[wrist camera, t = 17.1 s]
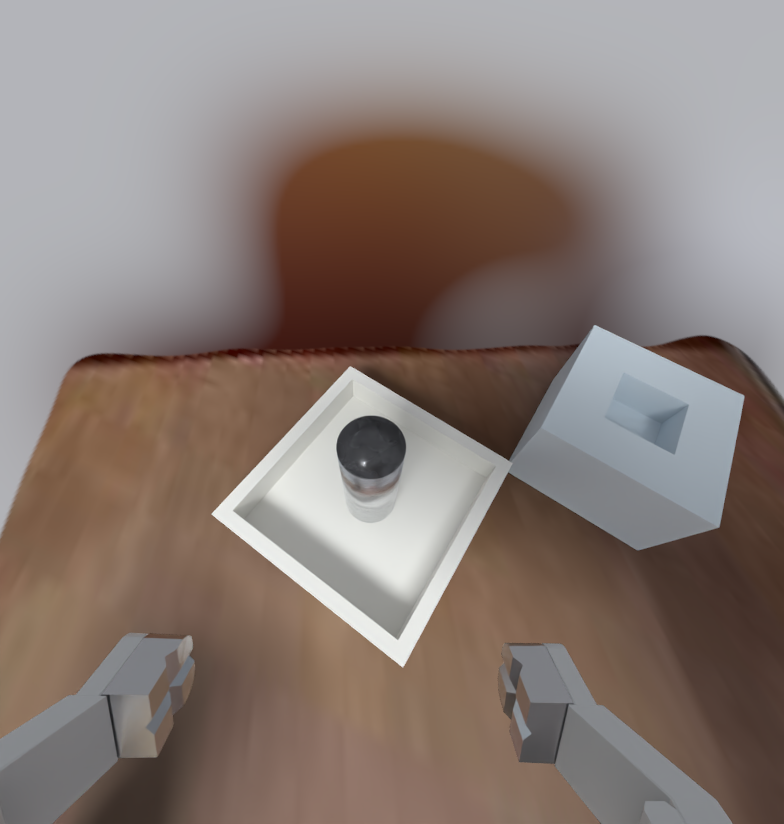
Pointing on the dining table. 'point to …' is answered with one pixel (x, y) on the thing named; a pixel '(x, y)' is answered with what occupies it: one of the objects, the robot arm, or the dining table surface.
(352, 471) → the steel pin
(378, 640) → the tray
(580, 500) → the socket block
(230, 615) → the dining table surface
